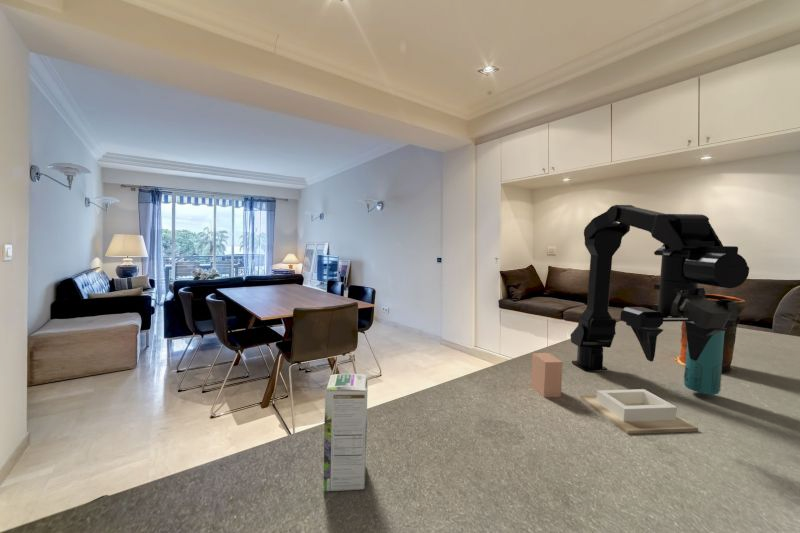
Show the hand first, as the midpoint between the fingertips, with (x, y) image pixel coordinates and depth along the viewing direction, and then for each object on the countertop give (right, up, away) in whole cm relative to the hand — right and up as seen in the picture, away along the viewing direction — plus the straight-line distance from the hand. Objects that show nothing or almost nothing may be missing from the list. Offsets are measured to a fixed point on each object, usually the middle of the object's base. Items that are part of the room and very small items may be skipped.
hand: (671, 360), depth 67 cm
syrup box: (-61, -13, -17) cm, 64 cm away
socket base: (-5, -12, +3) cm, 13 cm away
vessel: (+34, -10, +32) cm, 48 cm away
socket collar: (-5, -12, +3) cm, 13 cm away
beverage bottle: (+16, -11, +12) cm, 23 cm away
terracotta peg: (-19, -11, +13) cm, 25 cm away
